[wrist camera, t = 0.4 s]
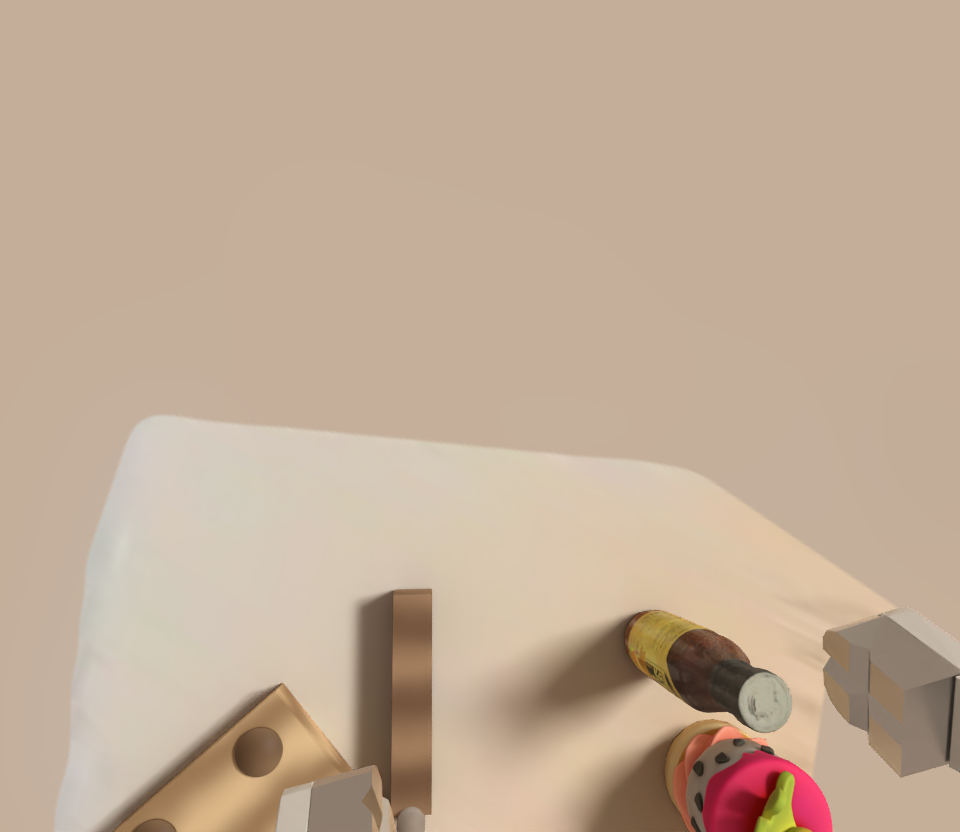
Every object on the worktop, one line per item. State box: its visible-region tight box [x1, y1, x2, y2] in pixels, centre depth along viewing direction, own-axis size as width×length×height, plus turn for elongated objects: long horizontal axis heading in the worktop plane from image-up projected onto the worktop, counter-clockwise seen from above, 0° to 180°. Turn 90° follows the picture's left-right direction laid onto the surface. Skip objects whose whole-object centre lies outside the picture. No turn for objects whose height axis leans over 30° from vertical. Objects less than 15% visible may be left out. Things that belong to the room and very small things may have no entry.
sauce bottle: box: [625, 610, 792, 733], centre depth 52 cm, size 6×6×20 cm
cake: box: [664, 719, 832, 832], centre depth 53 cm, size 10×11×15 cm
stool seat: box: [113, 683, 352, 832], centre depth 54 cm, size 16×18×3 cm
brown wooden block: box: [391, 589, 432, 832], centre depth 56 cm, size 20×4×5 cm, turn 1°
